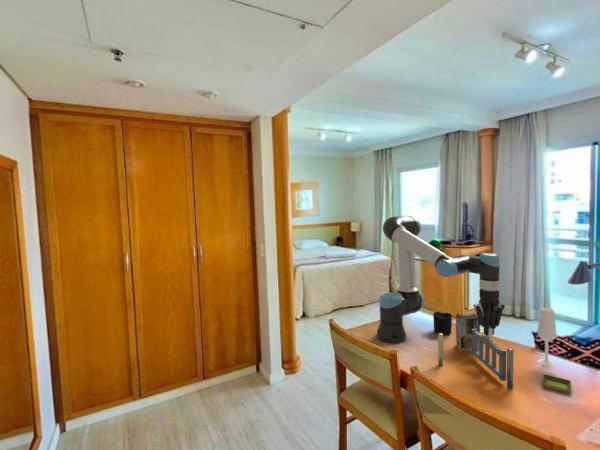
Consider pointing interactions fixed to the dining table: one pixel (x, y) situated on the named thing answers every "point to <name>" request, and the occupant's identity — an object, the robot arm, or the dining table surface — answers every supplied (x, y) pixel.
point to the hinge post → (510, 368)
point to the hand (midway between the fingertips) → (488, 341)
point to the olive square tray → (556, 383)
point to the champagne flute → (547, 332)
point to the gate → (486, 360)
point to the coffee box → (466, 331)
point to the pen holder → (442, 323)
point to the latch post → (440, 349)
